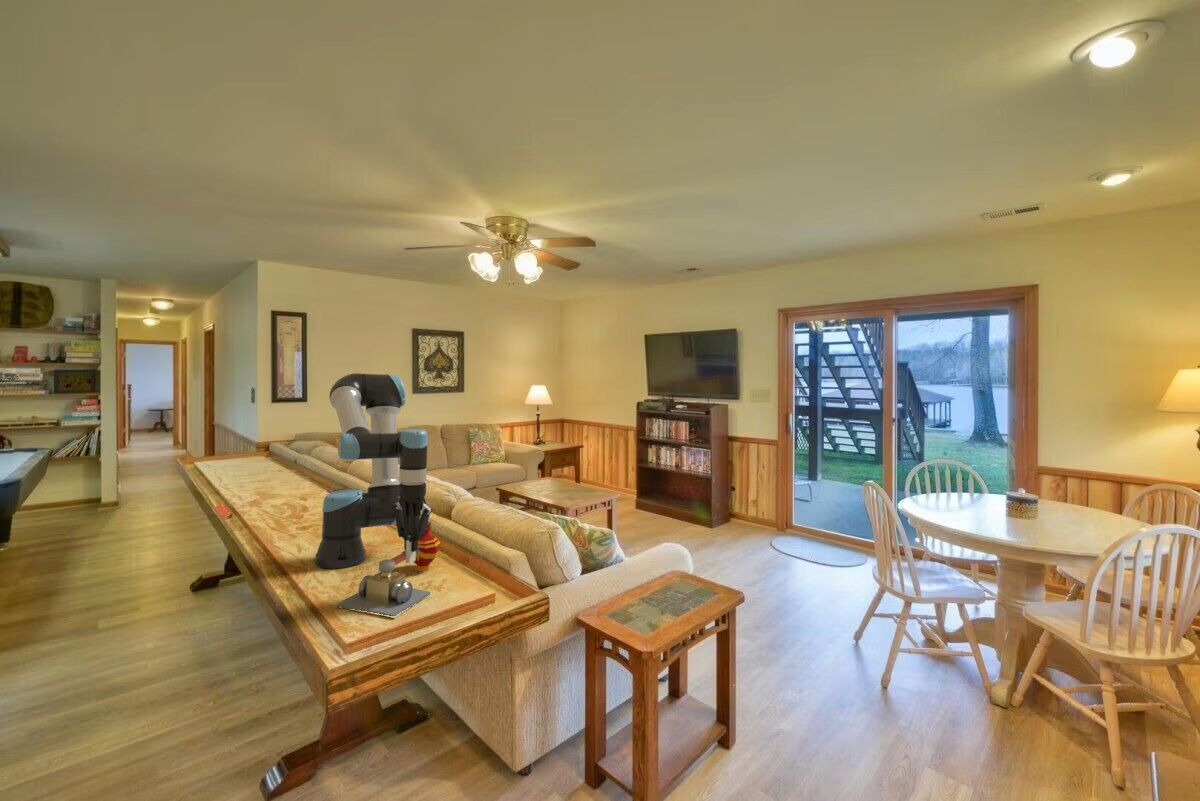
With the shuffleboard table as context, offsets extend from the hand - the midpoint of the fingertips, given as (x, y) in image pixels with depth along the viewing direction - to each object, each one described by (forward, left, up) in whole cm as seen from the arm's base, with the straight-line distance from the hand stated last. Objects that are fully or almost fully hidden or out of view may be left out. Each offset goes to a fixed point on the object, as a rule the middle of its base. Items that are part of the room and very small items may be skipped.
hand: (410, 561), depth 151 cm
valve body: (-1, -9, -8) cm, 12 cm away
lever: (-2, -3, +1) cm, 3 cm away
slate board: (-1, -9, -8) cm, 12 cm away
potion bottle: (-6, +16, -9) cm, 19 cm away
